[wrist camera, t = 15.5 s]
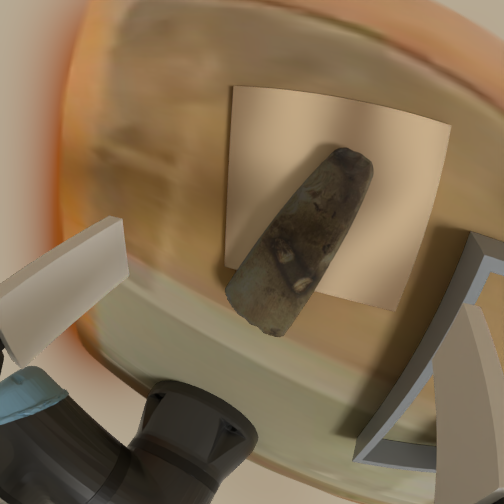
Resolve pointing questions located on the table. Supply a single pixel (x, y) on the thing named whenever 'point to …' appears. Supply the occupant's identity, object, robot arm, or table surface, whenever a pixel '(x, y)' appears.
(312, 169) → the cork pad
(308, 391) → the table surface
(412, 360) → the parts tray
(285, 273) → the stone
